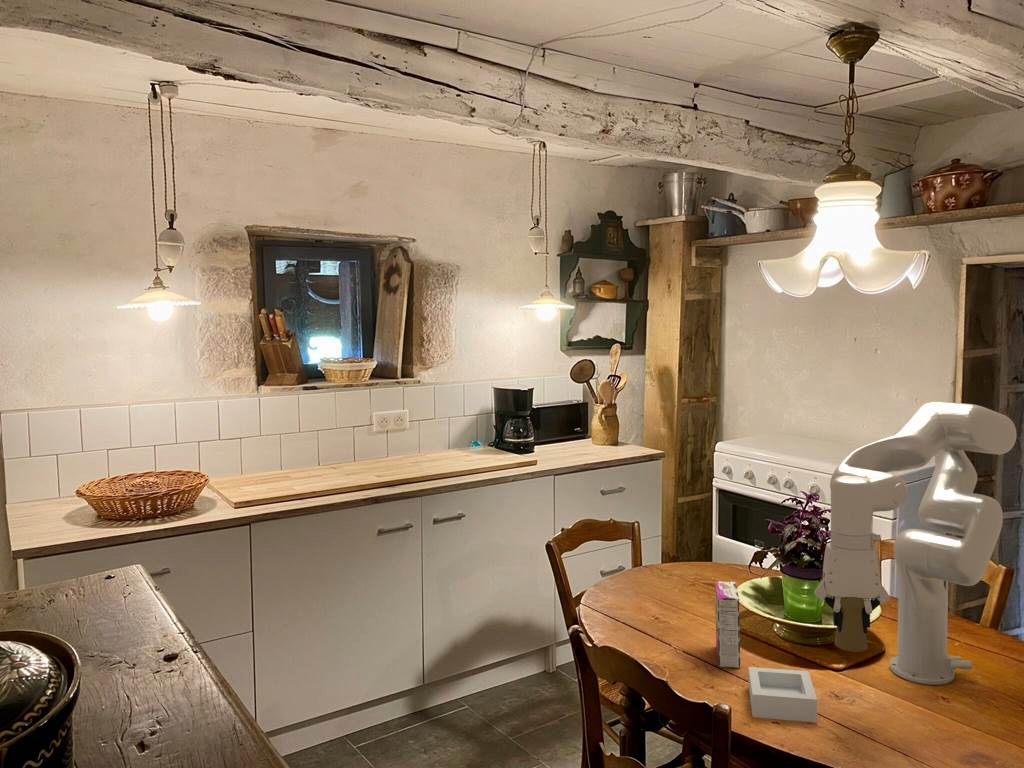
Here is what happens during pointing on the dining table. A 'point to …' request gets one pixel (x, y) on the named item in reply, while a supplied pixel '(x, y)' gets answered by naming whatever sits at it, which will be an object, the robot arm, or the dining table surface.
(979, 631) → the dining table surface
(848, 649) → the cork
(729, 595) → the candy bar box
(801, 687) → the open box
